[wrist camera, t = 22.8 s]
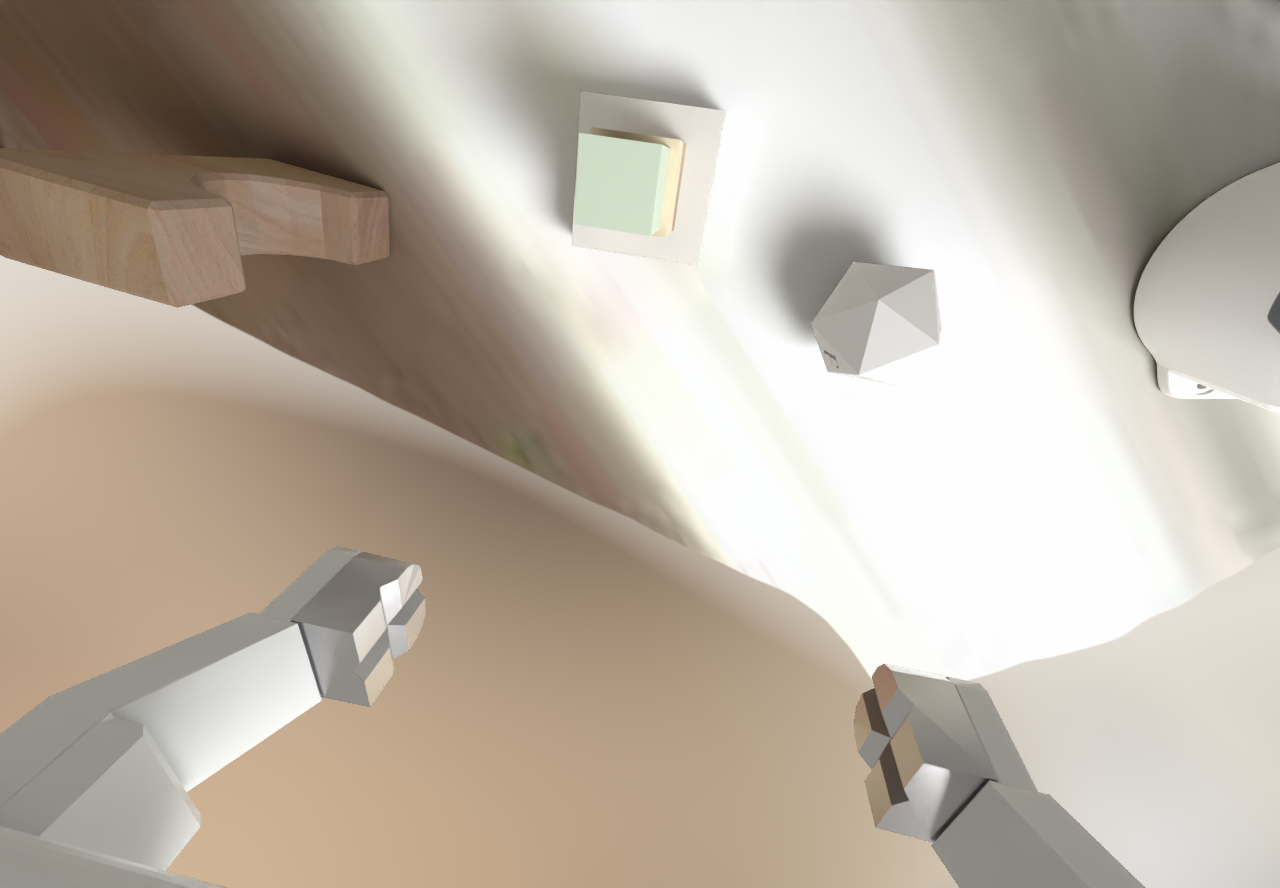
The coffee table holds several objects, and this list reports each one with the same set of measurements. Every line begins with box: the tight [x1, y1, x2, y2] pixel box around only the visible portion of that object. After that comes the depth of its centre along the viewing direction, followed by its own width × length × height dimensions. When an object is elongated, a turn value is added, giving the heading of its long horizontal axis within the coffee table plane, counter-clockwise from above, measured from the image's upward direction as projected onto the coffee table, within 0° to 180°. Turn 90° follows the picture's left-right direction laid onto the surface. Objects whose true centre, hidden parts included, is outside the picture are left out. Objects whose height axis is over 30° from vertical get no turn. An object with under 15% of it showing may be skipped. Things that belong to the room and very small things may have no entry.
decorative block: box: [0, 148, 390, 307], centre depth 35 cm, size 11×6×20 cm, turn 76°
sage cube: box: [574, 133, 671, 236], centre depth 29 cm, size 4×4×4 cm
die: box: [811, 262, 941, 386], centre depth 37 cm, size 8×9×10 cm
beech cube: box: [590, 127, 687, 238], centre depth 33 cm, size 6×6×6 cm
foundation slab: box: [572, 91, 725, 266], centre depth 37 cm, size 10×10×3 cm
